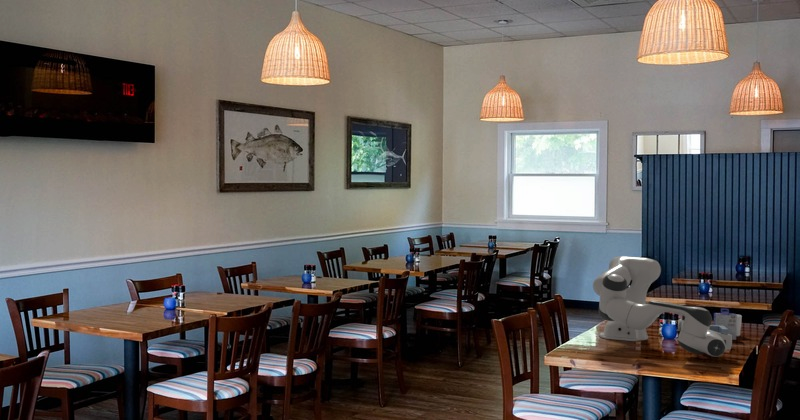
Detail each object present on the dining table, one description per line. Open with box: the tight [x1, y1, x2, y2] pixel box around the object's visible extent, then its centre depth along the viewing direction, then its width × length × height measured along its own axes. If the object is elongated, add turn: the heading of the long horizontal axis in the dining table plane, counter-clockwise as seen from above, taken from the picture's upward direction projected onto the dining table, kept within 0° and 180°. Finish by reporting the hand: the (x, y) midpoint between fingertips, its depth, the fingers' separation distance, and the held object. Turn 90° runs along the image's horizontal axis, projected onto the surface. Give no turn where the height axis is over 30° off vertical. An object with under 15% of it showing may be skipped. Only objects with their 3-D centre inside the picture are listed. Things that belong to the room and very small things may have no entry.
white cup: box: [735, 313, 743, 337], centre depth 394 cm, size 8×8×10 cm
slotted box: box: [709, 324, 728, 334], centre depth 369 cm, size 10×10×8 cm
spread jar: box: [677, 315, 685, 332], centre depth 397 cm, size 12×11×12 cm
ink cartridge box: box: [713, 307, 738, 341], centre depth 383 cm, size 10×6×14 cm, turn 78°
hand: (704, 335), depth 347 cm, fingers open, 8 cm apart
